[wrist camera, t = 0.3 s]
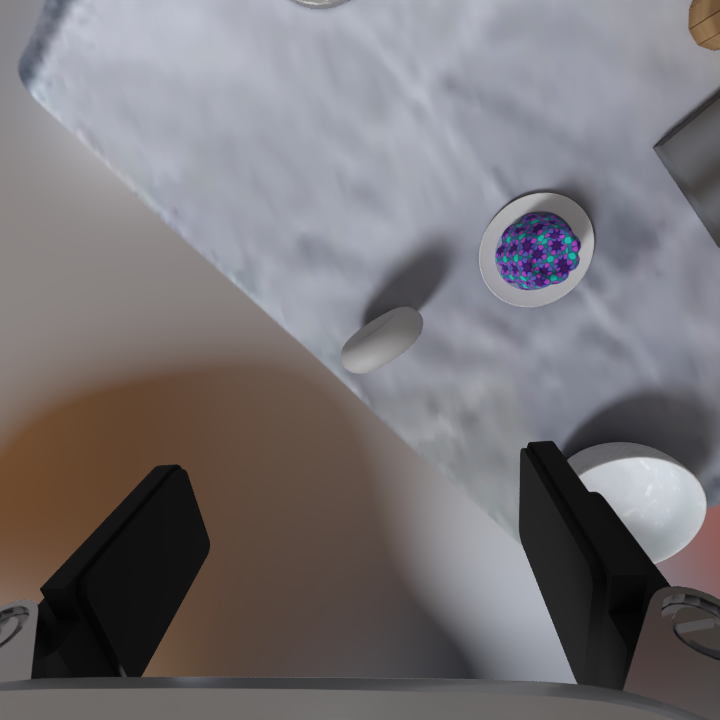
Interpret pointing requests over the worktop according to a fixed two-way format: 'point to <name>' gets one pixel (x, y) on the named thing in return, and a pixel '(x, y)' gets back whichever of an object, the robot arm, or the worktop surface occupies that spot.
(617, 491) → the cereal bowl
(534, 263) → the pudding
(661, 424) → the worktop surface
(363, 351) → the donut
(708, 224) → the needle stand
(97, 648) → the robot arm
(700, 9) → the bead
